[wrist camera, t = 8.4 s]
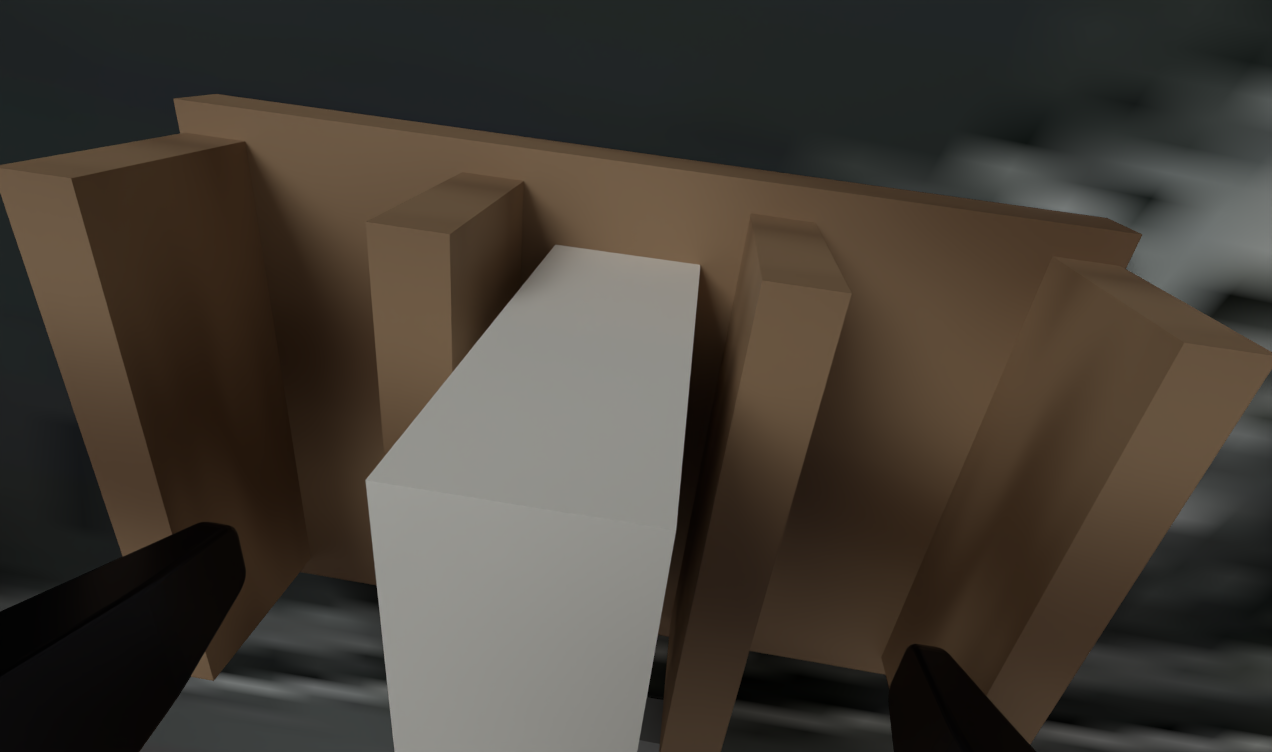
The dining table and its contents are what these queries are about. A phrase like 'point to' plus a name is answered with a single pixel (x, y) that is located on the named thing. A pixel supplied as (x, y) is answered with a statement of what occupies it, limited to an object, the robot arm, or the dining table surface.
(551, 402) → the upright white panel
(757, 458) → the rack
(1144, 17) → the dining table surface
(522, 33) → the dining table surface
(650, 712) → the rails
